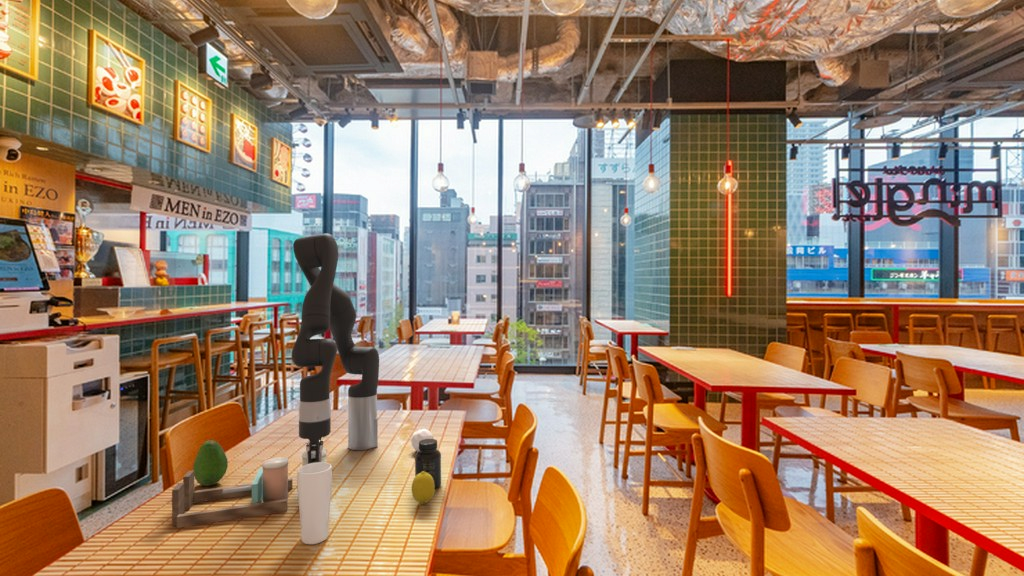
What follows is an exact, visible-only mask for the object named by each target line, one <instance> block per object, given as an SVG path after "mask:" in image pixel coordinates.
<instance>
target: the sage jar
mask: <svg viewBox="0 0 1024 576" xmlns="http://www.w3.org/2000/svg"><path fill="white" fill-rule="evenodd" d="M319 456H320V453H319ZM301 458H302V459H301V462H302V466H304V465H307V464H308V463H307V452H306V450H305V451H303V452H302V453H301ZM322 462H326V463H327V450H326V449H325V448H323V450H322ZM302 466H301V467H302Z"/></svg>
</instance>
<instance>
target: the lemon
mask: <svg viewBox="0 0 1024 576" xmlns="http://www.w3.org/2000/svg"><path fill="white" fill-rule="evenodd" d="M435 491H436V490H435V485H434V480H433V478H432V476H431V475H430V474H428V473H426V472H424V471H422V472H421V473H419V474H417V475H416V476H415V475H414V477H413V480H412V483H411V494H412V498H413V499H414V500H415V501H416V502H418V503H420V504H421V505H425V504H427V502H429V501H431V499H432V498H433V497H434V495H435Z"/></svg>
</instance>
